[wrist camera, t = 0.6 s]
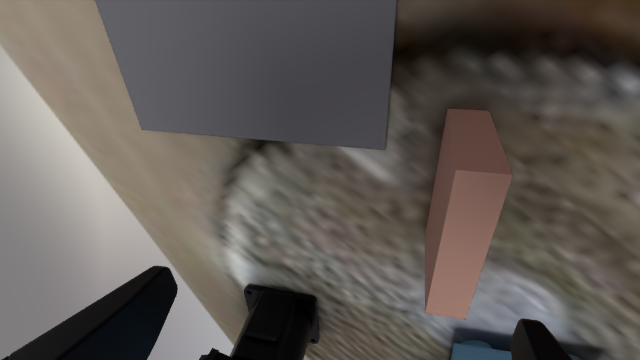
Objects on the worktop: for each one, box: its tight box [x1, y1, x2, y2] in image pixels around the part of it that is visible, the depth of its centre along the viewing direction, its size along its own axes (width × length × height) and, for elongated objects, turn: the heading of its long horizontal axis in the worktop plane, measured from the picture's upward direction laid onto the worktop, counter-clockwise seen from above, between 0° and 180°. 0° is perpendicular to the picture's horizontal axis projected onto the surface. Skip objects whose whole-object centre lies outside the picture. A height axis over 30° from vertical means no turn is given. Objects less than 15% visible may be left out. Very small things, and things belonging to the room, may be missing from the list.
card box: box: [425, 109, 513, 320], centre depth 18 cm, size 9×2×6 cm, turn 2°
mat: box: [95, 0, 397, 150], centre depth 18 cm, size 12×16×1 cm
